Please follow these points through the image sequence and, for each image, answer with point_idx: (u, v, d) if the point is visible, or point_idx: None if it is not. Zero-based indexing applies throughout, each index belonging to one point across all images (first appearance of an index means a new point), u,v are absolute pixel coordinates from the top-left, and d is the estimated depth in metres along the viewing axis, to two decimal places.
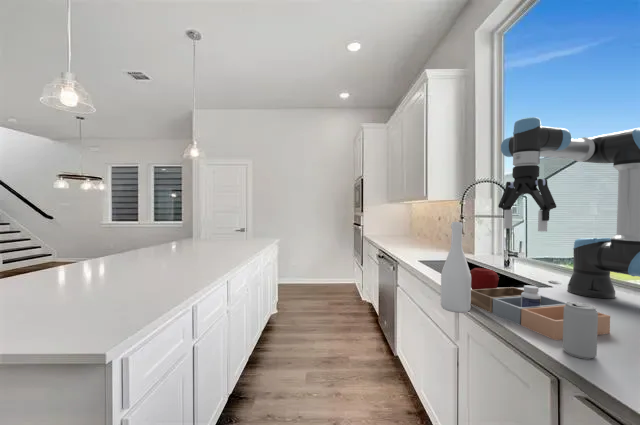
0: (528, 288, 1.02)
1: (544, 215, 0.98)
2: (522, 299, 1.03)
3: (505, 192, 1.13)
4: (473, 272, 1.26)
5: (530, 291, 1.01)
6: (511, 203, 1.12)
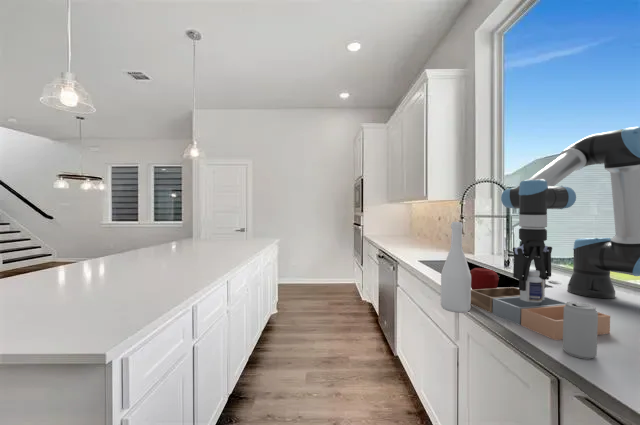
0: (529, 272, 1.02)
1: None
2: None
3: None
4: (473, 272, 1.26)
5: (531, 275, 1.02)
6: (538, 269, 1.04)
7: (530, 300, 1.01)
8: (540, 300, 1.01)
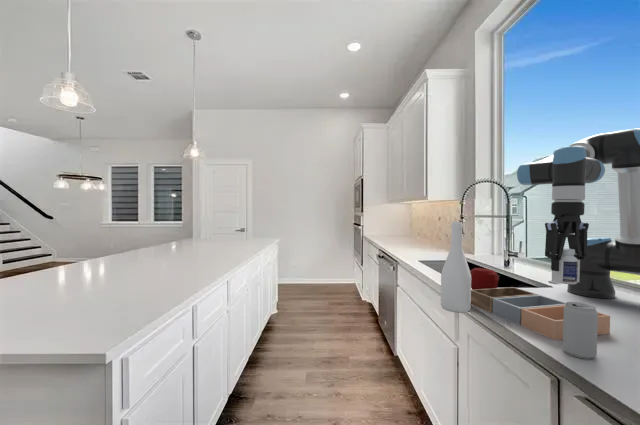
0: (563, 250, 0.91)
1: None
2: None
3: None
4: (473, 272, 1.26)
5: (566, 253, 0.91)
6: (572, 248, 0.93)
7: (564, 282, 0.90)
8: (575, 282, 0.90)
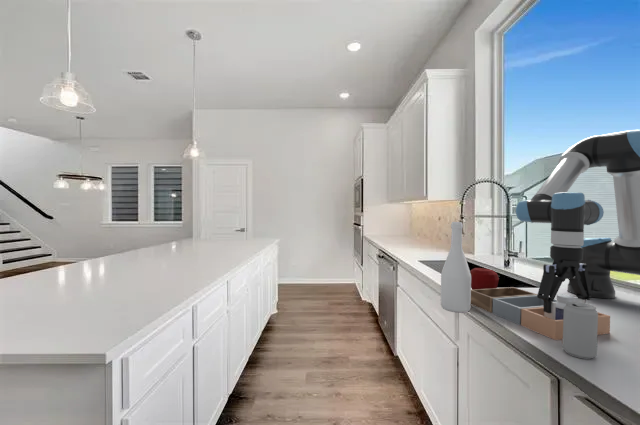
0: (562, 298, 0.91)
1: None
2: None
3: None
4: (473, 272, 1.26)
5: (565, 301, 0.91)
6: (576, 289, 0.94)
7: None
8: None
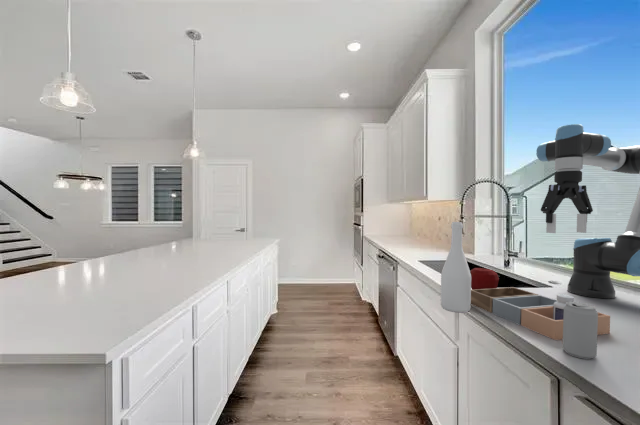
0: (562, 298, 0.91)
1: None
2: (555, 310, 0.93)
3: None
4: (473, 272, 1.26)
5: (565, 301, 0.91)
6: (578, 206, 1.11)
7: None
8: None
